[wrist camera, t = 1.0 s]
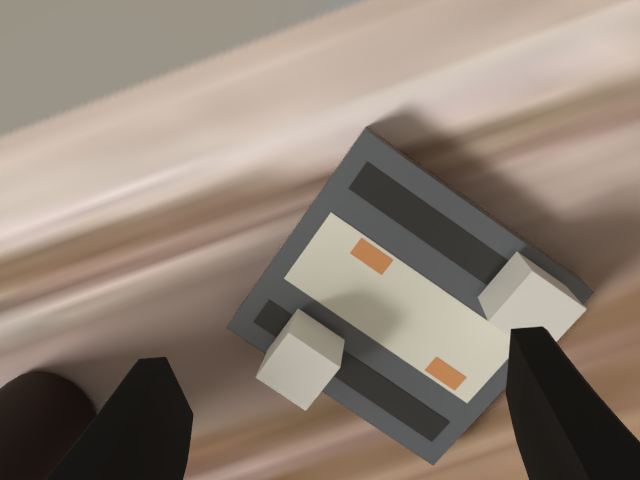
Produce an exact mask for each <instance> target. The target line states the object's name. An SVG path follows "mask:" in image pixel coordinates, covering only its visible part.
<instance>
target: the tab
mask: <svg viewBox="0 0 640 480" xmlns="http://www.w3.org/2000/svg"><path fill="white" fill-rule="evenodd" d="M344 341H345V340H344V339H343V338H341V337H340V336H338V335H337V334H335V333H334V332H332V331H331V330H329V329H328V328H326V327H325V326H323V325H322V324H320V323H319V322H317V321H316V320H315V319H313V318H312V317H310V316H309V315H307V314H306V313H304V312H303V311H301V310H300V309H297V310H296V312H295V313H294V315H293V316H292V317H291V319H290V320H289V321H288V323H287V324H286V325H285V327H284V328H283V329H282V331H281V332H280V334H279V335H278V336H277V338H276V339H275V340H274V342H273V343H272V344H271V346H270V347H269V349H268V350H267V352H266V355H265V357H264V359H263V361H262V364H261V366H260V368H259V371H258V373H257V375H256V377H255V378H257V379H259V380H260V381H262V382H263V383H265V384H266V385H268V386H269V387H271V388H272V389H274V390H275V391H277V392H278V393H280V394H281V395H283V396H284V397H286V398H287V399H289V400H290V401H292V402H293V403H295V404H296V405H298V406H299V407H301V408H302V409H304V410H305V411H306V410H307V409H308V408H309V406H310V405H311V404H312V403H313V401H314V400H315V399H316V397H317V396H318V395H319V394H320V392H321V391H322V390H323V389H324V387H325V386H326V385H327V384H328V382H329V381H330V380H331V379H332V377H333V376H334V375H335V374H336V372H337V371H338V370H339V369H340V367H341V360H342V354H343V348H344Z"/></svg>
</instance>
